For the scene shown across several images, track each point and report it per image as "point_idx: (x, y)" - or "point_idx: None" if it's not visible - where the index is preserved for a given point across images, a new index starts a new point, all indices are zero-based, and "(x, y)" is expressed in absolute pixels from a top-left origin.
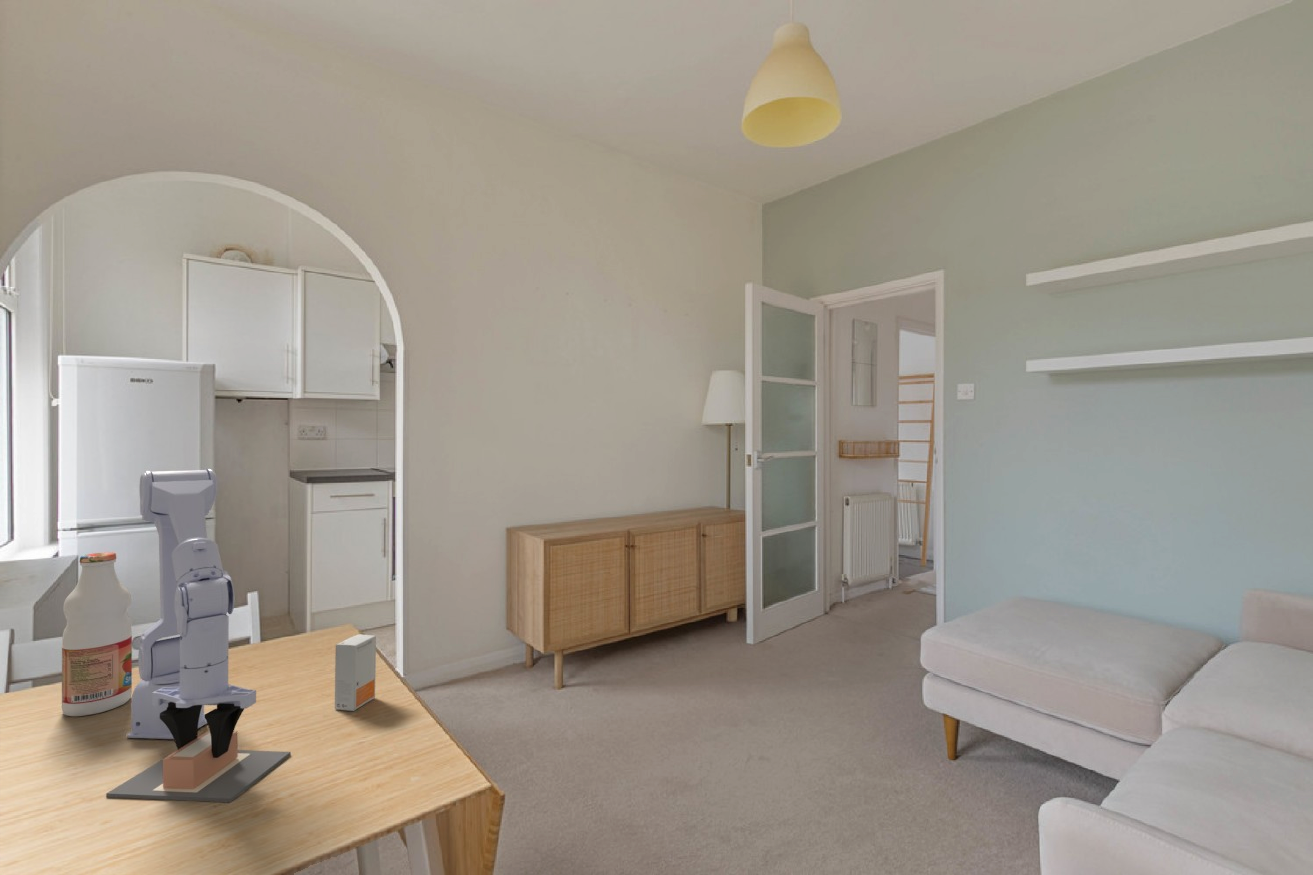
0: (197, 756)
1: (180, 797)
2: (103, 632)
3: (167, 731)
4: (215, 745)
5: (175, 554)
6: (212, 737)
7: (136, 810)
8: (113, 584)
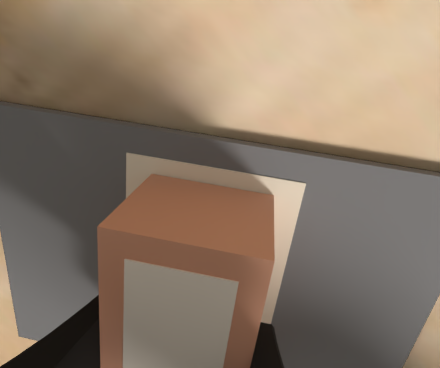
0: (109, 261)
1: (167, 130)
2: None
3: None
4: (65, 324)
5: None
6: (49, 363)
7: (294, 73)
8: None
